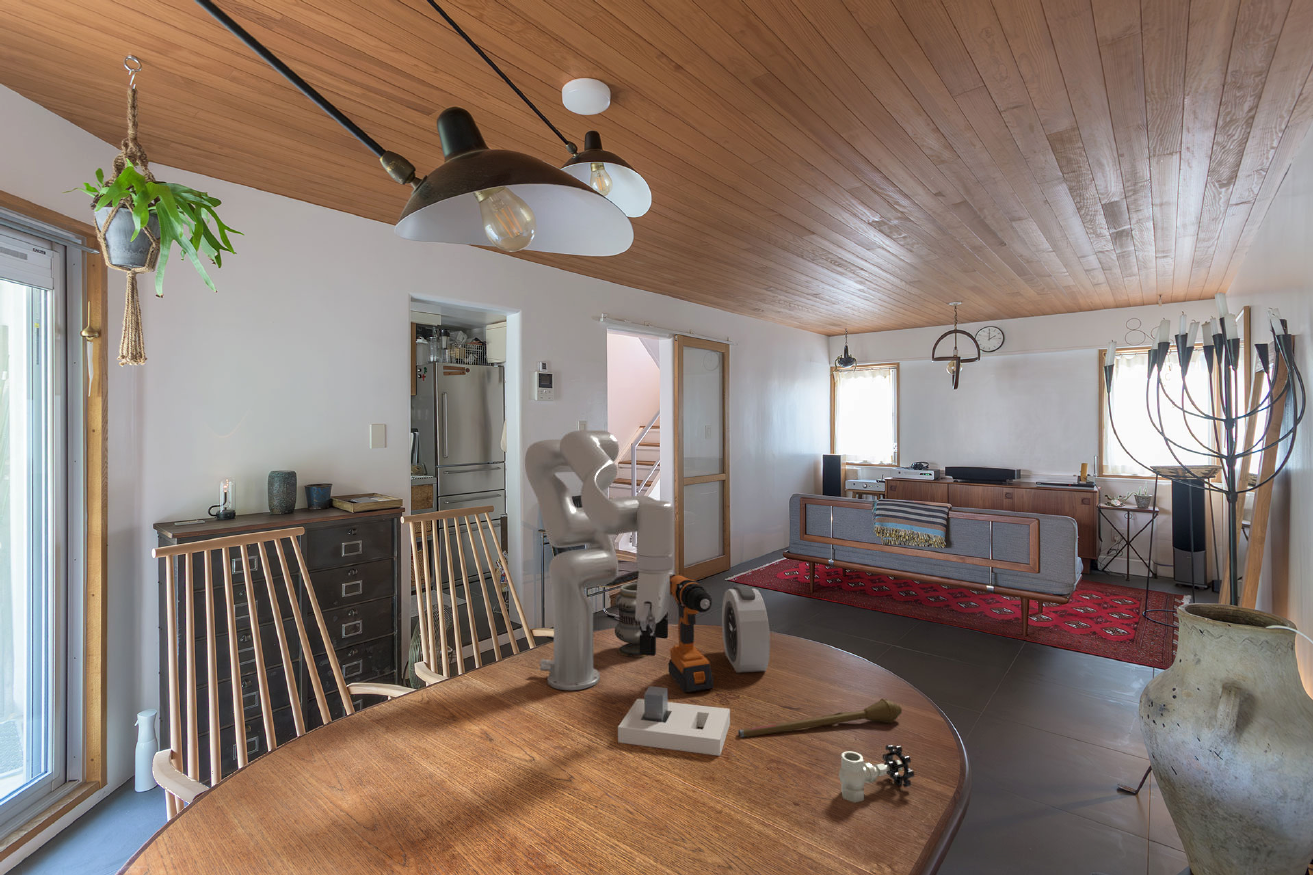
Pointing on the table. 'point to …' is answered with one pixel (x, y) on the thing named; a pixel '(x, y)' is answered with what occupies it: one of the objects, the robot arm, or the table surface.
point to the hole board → (677, 728)
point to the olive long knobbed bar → (832, 719)
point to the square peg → (656, 704)
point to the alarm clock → (745, 629)
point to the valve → (871, 772)
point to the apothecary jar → (628, 621)
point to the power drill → (689, 636)
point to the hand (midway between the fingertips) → (654, 645)
